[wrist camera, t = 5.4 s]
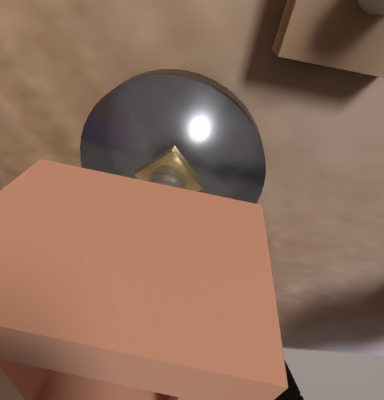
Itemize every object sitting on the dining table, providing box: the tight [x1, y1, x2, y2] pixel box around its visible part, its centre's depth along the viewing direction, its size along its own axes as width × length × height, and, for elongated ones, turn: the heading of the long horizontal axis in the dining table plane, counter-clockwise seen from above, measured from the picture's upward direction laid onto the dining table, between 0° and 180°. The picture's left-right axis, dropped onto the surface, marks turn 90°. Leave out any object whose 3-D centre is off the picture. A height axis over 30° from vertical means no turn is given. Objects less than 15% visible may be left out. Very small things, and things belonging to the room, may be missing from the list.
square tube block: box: [0, 159, 288, 400], centre depth 8 cm, size 7×7×4 cm
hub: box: [80, 69, 266, 204], centre depth 13 cm, size 10×10×6 cm
